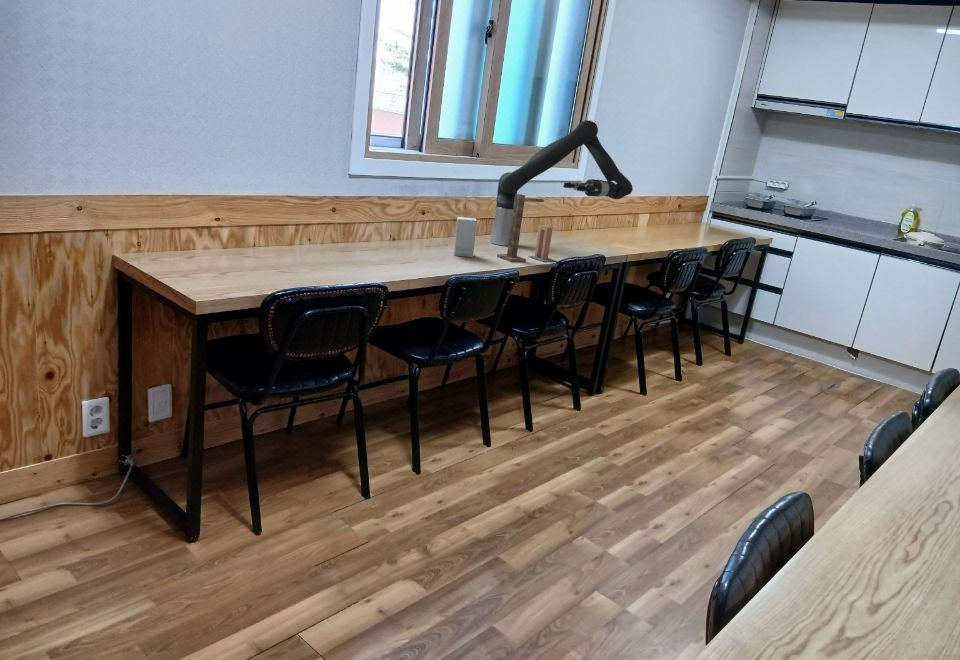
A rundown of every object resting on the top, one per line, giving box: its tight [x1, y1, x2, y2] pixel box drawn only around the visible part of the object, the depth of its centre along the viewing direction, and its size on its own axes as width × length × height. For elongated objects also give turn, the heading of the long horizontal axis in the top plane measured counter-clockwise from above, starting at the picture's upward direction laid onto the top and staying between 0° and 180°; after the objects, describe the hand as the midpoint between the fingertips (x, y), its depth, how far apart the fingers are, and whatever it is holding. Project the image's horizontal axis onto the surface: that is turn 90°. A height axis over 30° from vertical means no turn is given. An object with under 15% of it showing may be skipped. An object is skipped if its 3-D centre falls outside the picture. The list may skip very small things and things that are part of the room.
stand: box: [496, 193, 545, 263], centre depth 315 cm, size 10×17×28 cm, turn 127°
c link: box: [534, 224, 554, 259], centre depth 325 cm, size 6×3×14 cm, turn 36°
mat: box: [527, 255, 558, 263], centre depth 326 cm, size 10×8×1 cm
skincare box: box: [453, 216, 478, 258], centre depth 310 cm, size 8×7×16 cm
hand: (570, 186), depth 326 cm, fingers open, 8 cm apart
